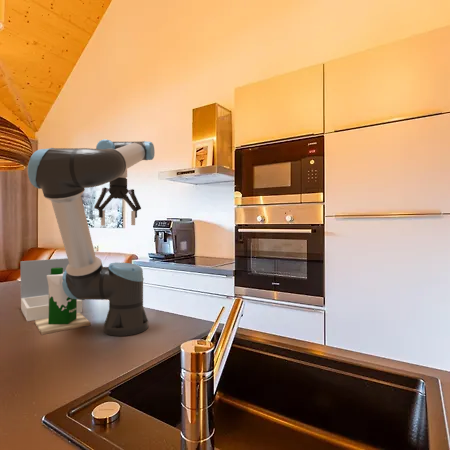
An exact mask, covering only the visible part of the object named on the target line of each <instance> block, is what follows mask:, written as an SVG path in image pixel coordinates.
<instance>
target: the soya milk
mask: <svg viewBox="0 0 450 450" xmlns="http://www.w3.org/2000/svg"><path fill="white" fill-rule="evenodd" d="M63 274H64V272H63V268H60V267H59V268H51V274H49V275H47V280H48V285H49V320H48V324H69V323H70V322H72V321H73V320H75V319H76V318H77V299H72V298H69V297H68V296H67V295H66V294H65V292H64V290H63V286H62V282H63V280H62V277H63Z"/></svg>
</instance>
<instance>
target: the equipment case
mask: <svg viewBox="0 0 450 450" xmlns="http://www.w3.org/2000/svg"><path fill="white" fill-rule="evenodd" d="M19 263H20V310H21V312H22V314H23V316H24V319H25V320H26V322H30V321H31V322H32V321H35V320H39V319H45V318H49V285H48V280H47V275H49V274H51V268H59V267H60V268H63V272H65V270H66V267H67V266H68V264H69V261H68V258H67V257H66V258H52V259H35V260H24V261H23V260H22V261H19ZM82 312H83V300H78V299H77V313H80V314H81V313H82Z"/></svg>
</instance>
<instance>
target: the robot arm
mask: <svg viewBox="0 0 450 450" xmlns="http://www.w3.org/2000/svg"><path fill="white" fill-rule="evenodd" d="M95 147H96V148H91V147H90V148H89V147H86V148H85V147H82V148H81V147H80V148H71V147H70V148H68V147H67V148H65V147H64V148H63V147H61V148H59V147H58V148H56V147H50V148H41V149H40V148H39V149H37V150H35V151H34V152H33V153H32V155H31V156H30V158H29V161H28V163H27V177H28V180H29V183H30V184H31V185H32V186H33V187H34V188H37V189H39V190H40V189H41V191H42V194H43V197H44V198H45V199H47V200H48V201H50V202H51V204H52V208H53V212H54V216H55V219H56V223H57V226H58V229H59V232H60V236H61V240H62V244H63V247H64V251H65V254H66V258H68V261H69V264H68V266H67V267H66V270H65V272H64V274H63V277H62V280H63V282H62V286H63V290H64V292H65V294H66V295H67V296H68V297H69V298H72V299H78V300H82V301H86V300H99V301H100V300H101V301H105V300H106V301H107V300H108V303H109V304H108V312H107V314H106V318H105V321H104V324H103V332H104V333H105V334H106V335H108V336H114V337H126V336H131V335H132V336H133V335H137V334H141V333H143V332H145V331H147V329H148V328H149V319H148V317H147V314H146V311H145V308H144V279H145V278H144V272H143V268H142V267H141V266H140V265H138V264H135V263H131V262H130V263H129V262H112V263H111V262H110V263H109V265H108V266H103V262H102V260H101V258H100V257H99V256H98V257H97V256H96V253H95V249H94V244H93V241H92V235H91V233H90V228H89V224H88V220H87V215H86V211H85V207H84V202H83V199H82V195H83V193H84V192H85V189H86V188H87V189H88V188H89V189H91V188H96V187H99V186H103V185H106V184H108V183H109V188H107V187H102V188H101V193H100V195H99V196H98V199H97V201H96V202H95V204H94V207H93V208H94V209H96V210H97V211H98V218H100V225H101V226H106V210H104V209H105V208H106V207H107V206H108V204H109V203H110V202H111V201H112V200H113V199H119V200H120V199H121V200H124V201H125V202H126V203H127V205H128V206H129V207H130V209H131V211H130V212H131V214H130V215H131V217H130V220H131V221H130V223H131V226H136V218H138V211H139V210H140V211H141V210H142V207H141V205H140V203H139V201H138V198H137V196H136V194H135V189H134V188H132V189H131V188H130V189H128V179H127V178H128V169H129V168H131V167H133V166H134V165H136V164H138V163H140V162H141V161H152V160H153V159H154V158H155V145H154V143H153V142H151V141H145V140H144V141H143V140H142V141H112V140H110V139H107V138H105V139H101V140H99V141H97V144H96V146H95ZM108 193H109V195H108V197H107V198H106V199H105V201H103V200H104V198H105V197H106V194H108ZM128 194H129V195H130V198H131V199H130V198H129V196H128ZM131 200H132V201H131Z"/></svg>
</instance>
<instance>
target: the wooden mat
mask: <svg viewBox="0 0 450 450" xmlns="http://www.w3.org/2000/svg"><path fill="white" fill-rule="evenodd" d="M48 320H49V318H44V319H38V320H34V324H35V326H36V328H37V330H38V331H39V333H40V335H47V334H52V333H58V332H62V331H67V330H73V329H80V328H85V327H88V326H91V325H92V323H91V321H90V320H88V319H87V318H86V317H85V316H84V315H83V314H82V313H81V312H80V313H77V318H76V319H75V320H73V321H72V322H70V323H69V324H48Z"/></svg>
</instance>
